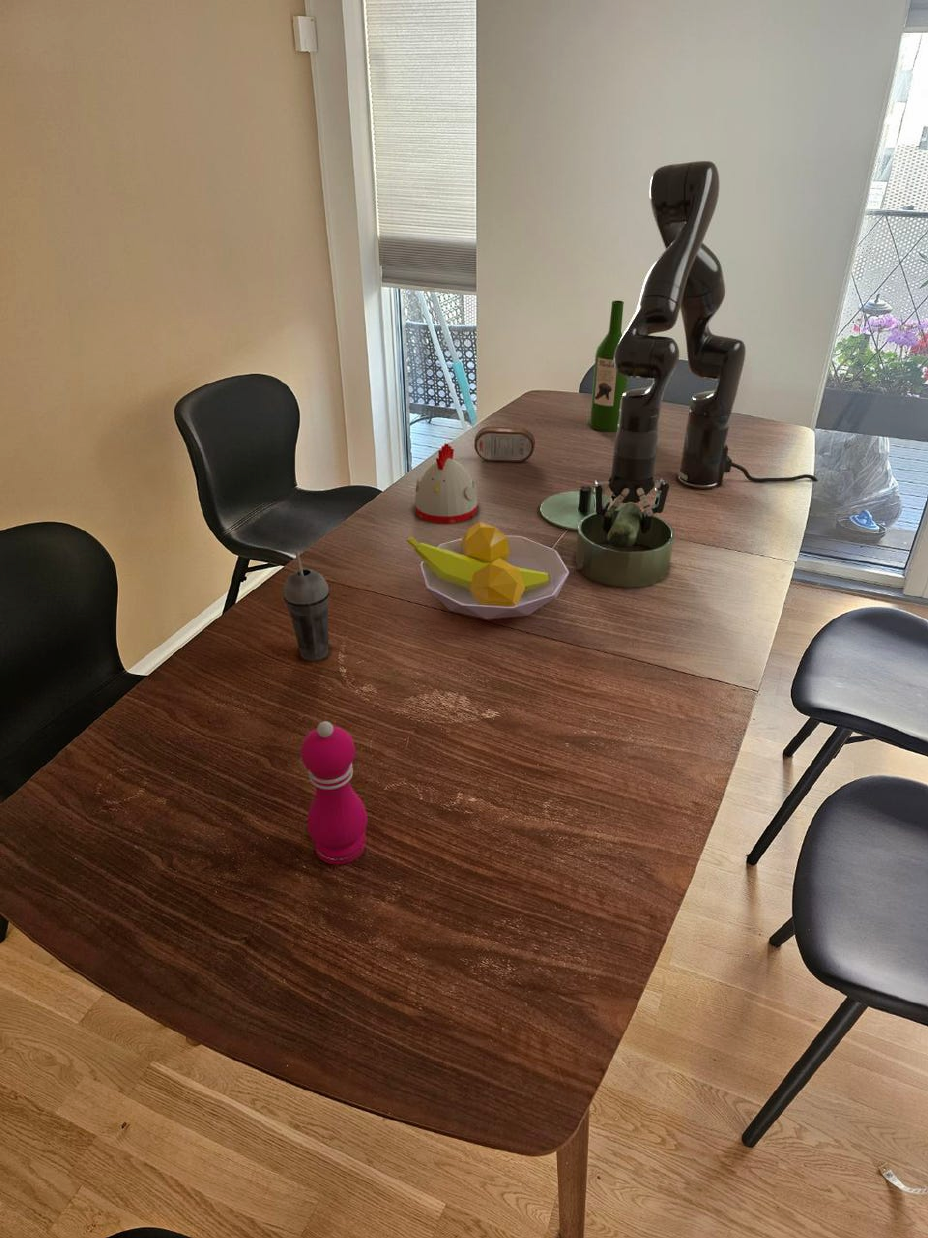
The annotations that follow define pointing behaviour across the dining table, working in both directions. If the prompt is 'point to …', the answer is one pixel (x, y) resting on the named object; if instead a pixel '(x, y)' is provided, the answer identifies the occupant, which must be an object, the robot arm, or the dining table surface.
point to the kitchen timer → (445, 491)
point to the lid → (570, 507)
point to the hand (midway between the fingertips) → (625, 531)
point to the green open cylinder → (624, 554)
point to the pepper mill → (333, 795)
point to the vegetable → (625, 526)
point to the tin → (504, 444)
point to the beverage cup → (308, 611)
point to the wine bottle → (608, 377)
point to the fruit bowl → (491, 573)
